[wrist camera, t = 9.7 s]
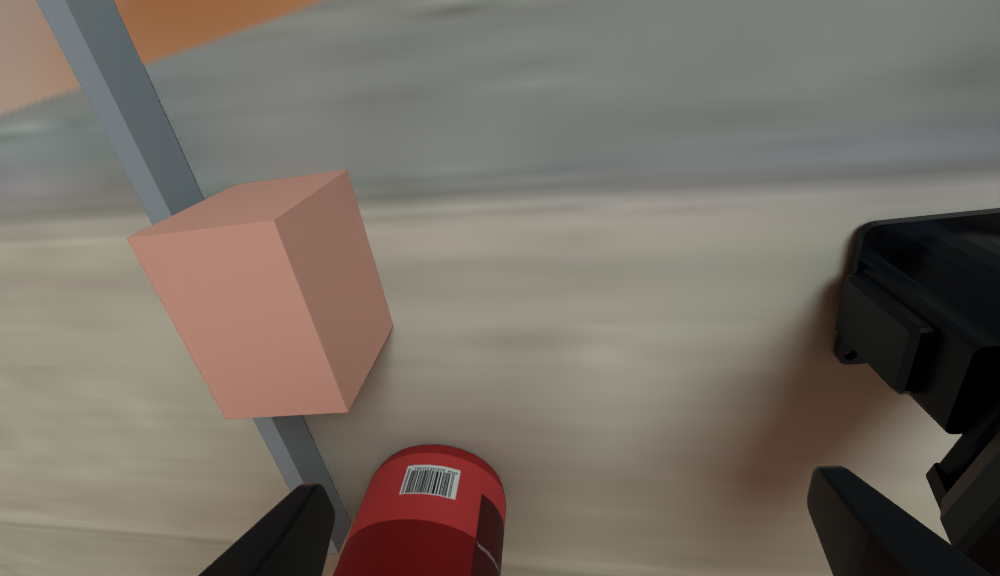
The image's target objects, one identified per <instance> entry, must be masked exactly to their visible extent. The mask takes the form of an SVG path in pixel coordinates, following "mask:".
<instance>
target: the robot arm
mask: <svg viewBox="0 0 1000 576" xmlns="http://www.w3.org/2000/svg"><path fill="white" fill-rule="evenodd" d="M877 231H879V233H878V235H877V236H876V237H875V238H873V239H870V238H871V236H872V234H873V233H875V232H877ZM835 330H836V331H837V335H836V340H835V345H834V350H833V353H834V355H835V357H836V358H837V359H838V360H839V361H840V362H841V363H843V364H864V363H868V364H869V365H870V366H871V367H872V369H873V370H874V371H875V372H876V373H877V374H878V375H879V376H880V377H881V378H882V379H883V380H884V381H885V382H886V383H887V384H888V385H889V386H890V387H891V388H892V389H893V390H894V391H895V392H897V393H898V394H909V395H910V396H911V397H912V398H913V399H914V400H915V401H916V402H917V403H918V404H919V405H920V406H921V407H922V408H923V409H924V410H925V411H926V412H927V413H928V414H929V415H930V416H931V417H932V418H933V419H934V420H935V421H936V422H937V423H938V424H939V425H940V426H941V427H942V428H943V429H944V430H945V431H946V432H947V433H948V434H962V436H961V437H960V438H959V439H958V441H957V442H956V443H955V444H954V446H953V447H952V448H951V449H950V451H949V452H948V453H947V454H946V456H945V457H944V458H943V459H942V461H941V462H940V463H935V464H934V465H933V466H932V467H931V469H930V470H929V471H928V472H927V474H926V478H927V480H928V482H929V485H930V487H931V489H932V492H933V494H934V497H935V499H936V501H937V504H938V506H939V509H940V511H941V515H940V520H941V522H942V525H943V527H944V529H945V531H946V534H947V536H948V538H949V541H950V543H951V544H949V543H948V542H946V541H945V540H944V539H942V538H941V537H940V536H938V535H937V534H935V533H934V532H933V531H931V530H930V529H929V528H927V527H926V526H925V525H923V524H922V523H920V522H919V521H918V520H916V519H915V518H914V517H912V516H911V515H910V514H908V513H907V512H905V511H904V510H903V509H901V508H900V507H899V506H897V505H896V504H895V503H893V502H892V501H890V500H889V499H888V498H886V497H885V496H884V495H882V494H881V493H880V492H878V491H877V490H875V489H874V488H873V487H871V486H870V485H869V484H867V483H866V482H864V481H863V480H862V479H860V478H859V477H858V476H856V475H855V474H854V473H852V472H851V471H849V470H848V469H846V468H844V467H842V466H818V467H816V468H815V469H814V470H813V473H812V477H811V482H810V487H809V491H808V496H807V505H808V510H809V513H810V516H811V518H812V521H813V524H814V526H815V529H816V532H817V534H818V537H819V539H820V542H821V545H822V547H823V550H824V553H825V555H826V558H827V560H828V563H829V566H830V568H831V571H832V573H833V576H1000V208H995V209H986V210H976V211H966V212H956V213H947V214H937V215H927V216H917V217H908V218H898V219H888V220H879V221H872V222H868V223H867V224H865V225H863V226H862V228H861V229H860V230H859V232H858V234H857V239H856V244H855V248H854V253H853V258H852V263H851V268H850V273H849V275H848V277H847V278H846V279H845V282H844V287H843V292H842V297H841V302H840V307H839V312H838V317H837V321H836V326H835ZM851 350H852V351H851ZM848 351H851V352H850V353H848V354H845V353H847V352H848ZM334 524H335V509H334V507H333V505H332V503H331V500H330V498H329V496H328V494H327V492H326V490H325V488H324V486H323V485H322V484H321V483H304V484H300V485H299V486H297V487H296V488H295V489H294V490H293V491H292V492H290V493H289V494H288V495H287V496H286V497H285V498H284V499H283V500H282V501H280V502H279V503H278V504H277V505H276V506H275V507H274V508H273V509H272V510H271V511H269V512H268V513H267V514H266V515H265V516H264V517H263V518H262V519H261V520H259V521H258V522H257V523H256V524H255V525H254V526H253V527H252V528H251V529H249V530H248V531H247V532H246V533H245V534H244V535H243V536H242V537H241V538H239V539H238V540H237V541H236V542H235V543H234V544H233V545H232V546H231V547H229V548H228V549H227V550H226V551H225V552H224V553H223V554H222V555H221V556H220V557H218V558H217V559H216V560H215V561H214V562H213V563H212V564H211V565H210V566H208V567H207V568H206V569H205V570H204V571H203V572H202V573H201V574H200V575H198V576H322V573H323V569H324V565H325V560H326V556H327V552H328V548H329V544H330V540H331V536H332V532H333V528H334Z"/></svg>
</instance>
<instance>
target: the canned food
mask: <svg viewBox="0 0 1000 576" xmlns="http://www.w3.org/2000/svg"><path fill="white" fill-rule="evenodd" d="M505 513H506V500H505V494H504V490H503V487H502V483H501V481H500V479H499V476H498V475H497V474H496V472H495V471H494V470H493V468H492V467H490V466H489V465H488V464H487V463H486V462H485V461H484V460H482V459H480V458H479V457H477V456H475V455H474V454H471V453H469V452H467V451H464V450H462V449H458V448H454V447H450V446H443V445H420V446H414V447H410V448H407V449H404V450H401V451H399V452H397V453H396V454H394V455H392V456H391V457H390V458H389V459H387V460H386V461H385V462H384V463H383V465H382V466H381V467H380V468H379V469H378V471H377V472H376V473H375V475H374V476H373V478H372V480H371V482H370V485H369V487H368V490H367V492H366V495H365V497H364V500H363V502H362V505H361V507H360V510H359V512H358V515H357V517H356V520H355V522H354V525H353V527H352V530H351V532H350V535H349V537H348V540H347V542H346V545H345V547H344V550H343V552H342V555H341V557H340V560H339V562H338V565H337V567H336V570H335V572H334V575H333V576H500V573H501V561H502V549H503V537H504V525H505Z"/></svg>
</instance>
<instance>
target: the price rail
mask: <svg viewBox="0 0 1000 576" xmlns="http://www.w3.org/2000/svg"><path fill="white" fill-rule="evenodd" d="M36 1H37V3H38V5H39V6H40V9H41V11H42V13H43V14H44V16H45V18H46V20H47V22H48V24H49V26H50V28H51V30H52V32H53V34H54V36H55V37H56V39H57V41H58V43H59V45H60V47H61V49H62V51H63V53H64V55H65V57H66V59H67V61H68V63H69V64H70V67H71V68H72V70H73V72H74V74H75V76H76V78H77V80H78V82H79V84H80V86H81V88H82V90H83V92H84V94H85V95H86V97H87V99H88V101H89V103H90V105H91V107H92V109H93V111H94V113H95V115H96V117H97V119H98V121H99V122H100V124H101V126H102V128H103V130H104V132H105V134H106V136H107V138H108V140H109V142H110V144H111V146H112V148H113V149H114V151H115V153H116V155H117V157H118V159H119V161H120V163H121V165H122V167H123V169H124V171H125V173H126V175H127V177H128V178H129V180H130V182H131V184H132V186H133V188H134V190H135V192H136V194H137V196H138V198H139V200H140V202H141V204H142V205H143V207H144V209H145V211H146V213H147V215H148V217H149V219H150V221H151V223H152V225H154V224H156V223H158V222H160V221H162V220H165V219H167V218H169V217H171V216H173V215H175V214H177V213H179V212H181V211H183V210H185V209H187V208H189V207H191V206H193V205H195V204H197V203H199V202H201V201H203V200H204V199H203V197H202V194H201V192H200V190H199V188H198V186H197V183H196V181H195V179H194V177H193V175H192V172H191V170H190V168H189V166H188V164H187V161H186V159H185V157H184V155H183V153H182V150H181V148H180V146H179V144H178V141H177V139H176V137H175V135H174V133H173V130H172V128H171V126H170V124H169V122H168V119H167V117H166V115H165V113H164V111H163V108H162V106H161V104H160V102H159V100H158V97H157V95H156V93H155V91H154V89H153V86H152V84H151V82H150V80H149V78H148V75H147V73H146V71H145V69H144V67H143V64H142V62H141V60H140V58H139V56H138V53H137V51H136V49H135V47H134V45H133V43H132V40H131V38H130V36H129V34H128V31H127V29H126V27H125V25H124V23H123V20H122V18H121V16H120V14H119V11H118V9H117V7H116V5H115V3H114V0H36ZM253 420H254V422H255V423H256V425H257V427H258V429H259V431H260V433H261V435H262V437H263V439H264V441H265V443H266V445H267V447H268V449H269V450H270V452H271V454H272V456H273V458H274V460H275V462H276V464H277V466H278V468H279V470H280V472H281V474H282V476H283V477H284V479H285V481H286V483H287V485H288V487H289V489H290V491H291V492H292V491H293V490H294V489H295V488H296V487H297V486H299V485H300V484H304V483H321V484H322V485H323V486H324V488H325V490H326V492H327V494H328V496H329V498H330V500H331V503H332V505H333V507H334V509H335V524H334V528H333V532H332V536H331V540H330V544H329V548H328V552H327V554H339V552H340V549H341V547H342V544H343V542H344V539H345V537H346V534H347V532H348V529H349V527H350V524H351V523H350V520H349V518H348V516H347V514H346V512H345V509H344V507H343V505H342V503H341V501H340V498H339V496H338V494H337V492H336V490H335V487H334V485H333V483H332V481H331V479H330V476H329V474H328V472H327V470H326V468H325V465H324V463H323V461H322V459H321V457H320V454H319V452H318V450H317V448H316V446H315V443H314V441H313V439H312V437H311V435H310V432H309V430H308V428H307V426H306V424H305V421H304V419H303V417H302V415H292V416H274V417H256V418H253Z"/></svg>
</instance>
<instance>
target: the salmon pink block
mask: <svg viewBox="0 0 1000 576" xmlns="http://www.w3.org/2000/svg"><path fill="white" fill-rule="evenodd" d="M127 240H128V242H129V244H130V245H131V247H132V249H133V251H134V253H135V255H136V256H137V258H138V260H139V262H140V264H141V266H142V267H143V269H144V271H145V273H146V275H147V277H148V278H149V280H150V282H151V284H152V286H153V288H154V289H155V291H156V293H157V295H158V297H159V298H160V300H161V302H162V304H163V306H164V308H165V309H166V311H167V313H168V315H169V317H170V319H171V320H172V322H173V324H174V326H175V328H176V330H177V331H178V333H179V335H180V337H181V339H182V341H183V342H184V344H185V346H186V348H187V350H188V352H189V353H190V355H191V357H192V359H193V361H194V363H195V364H196V366H197V368H198V370H199V372H200V373H201V375H202V377H203V379H204V381H205V383H206V384H207V386H208V388H209V390H210V392H211V394H212V395H213V397H214V399H215V401H216V403H217V405H218V406H219V408H220V410H221V412H222V414H223V416H224V417H225V419H238V418H256V417H274V416H292V415H311V414H329V413H347V412H348V411H349V409H350V408H351V406H352V404H353V402H354V400H355V398H356V396H357V394H358V392H359V390H360V388H361V387H362V385H363V383H364V381H365V379H366V377H367V375H368V373H369V371H370V369H371V368H372V366H373V364H374V362H375V360H376V358H377V356H378V354H379V352H380V350H381V348H382V347H383V345H384V343H385V341H386V339H387V337H388V335H389V333H390V331H391V329H392V327H393V322H392V319H391V316H390V312H389V309H388V305H387V302H386V299H385V295H384V292H383V289H382V285H381V282H380V279H379V275H378V272H377V268H376V265H375V262H374V258H373V255H372V252H371V248H370V245H369V242H368V238H367V235H366V232H365V228H364V225H363V221H362V218H361V215H360V211H359V208H358V205H357V201H356V198H355V195H354V191H353V188H352V184H351V181H350V178H349V174H348V171H347V170H342V171H335V172H327V173H320V174H312V175H305V176H297V177H290V178H282V179H275V180H267V181H260V182H252V183H245V184H237V185H234V186H232V187H230V188H228V189H226V190H224V191H222V192H220V193H218V194H216V195H214V196H212V197H210V198H207V199H205V200H203V201H201V202H199V203H197V204H195V205H193V206H191V207H189V208H187V209H185V210H183V211H181V212H179V213H177V214H175V215H173V216H171V217H169V218H167V219H165V220H162V221H160V222H158V223H156V224H154V225H152V226H150V227H148V228H146V229H144V230H142V231H140V232H138V233H136V234H134V235H132V236H130V237H128V238H127Z"/></svg>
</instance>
